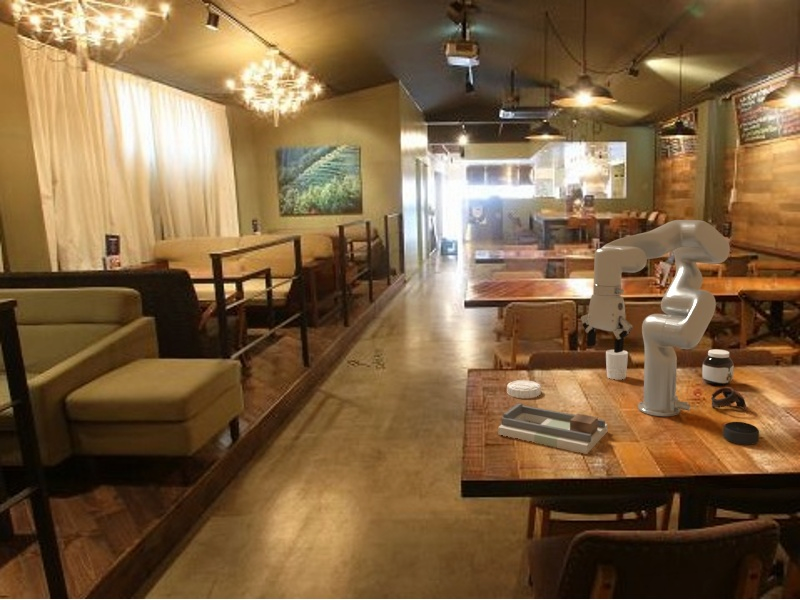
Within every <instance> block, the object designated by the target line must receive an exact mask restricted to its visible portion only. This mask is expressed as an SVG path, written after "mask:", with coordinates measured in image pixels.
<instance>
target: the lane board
mask: <svg viewBox="0 0 800 600" xmlns="http://www.w3.org/2000/svg"><path fill="white" fill-rule="evenodd" d="M575 415H576V414H573V413H568V412H567V413H566V412H561V411H555V410H552V409H551V410H550V409H544V408H539V407H534V406H529V405H523V403H517V404H515V405H513V407H511V408H509V410H507V411H505V412H504V413H503V415H502V416H503V417H501V424H500V425H499V426H498V427H497V429H498V430H497V432H498V436H501V435H503V436H502V437H506V436H508V437H507V438H510V437H513V438H512V439H515V438H518V439H517V440H519V439H522V440H521V441H524V440H527V441H526V442H529V441H532V442H531V443H533V442H536V443H535V444H538V443H540V444H539V445H542V444H544V445H543V446H547V445H548V447H552V446H553V447H552V448H556V447H557V449H562V450H565V451H566V450H567V451H571V452H575V453H579V452H580V454H585V455H588V453H589V452H591V450H592V449H593V448H594V447H595V446H596V445H597V444H598V443H599V442H600V441H601V439H602V438H604V436H605V435H606V434H607V433H608V423H606V420H605V419H602V418H598V430H597V431H596V432H595V433H594V434H593V435H592V436H591V434H587V433H582V432H577V431H572V430H570V420H571V419H572V418H573V417H574V416H575ZM529 421H530V422H529ZM596 443H597V444H596Z"/></svg>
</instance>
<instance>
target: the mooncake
mask: <svg viewBox="0 0 800 600" xmlns="http://www.w3.org/2000/svg"><path fill="white" fill-rule="evenodd" d="M506 392H507V395H508V396H509V395H510V396H509V397H512V398H516V399H534V398H537V396H538V397H540V396H541V394H542V386H541V384H540V383H538V382H536V381H533V380H525V379H520V380H514V381H511V382H509V383H508V384H507V385H506ZM539 395H540V396H539Z"/></svg>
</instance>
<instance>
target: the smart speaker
mask: <svg viewBox="0 0 800 600" xmlns="http://www.w3.org/2000/svg"><path fill="white" fill-rule="evenodd" d="M722 429H723V430H722V436H723V438H724V439H725V440H726V441H728V442H730V443H733V444H735V445H736V444H737V445H744V446H746V445H748V446H750V445H754V444H757V443H758V442H759V440H760V430H759V428H758V427H756V426H755V425H754V424H751V423H747V422H742V421H731V422H726V423H725V424H724V425H723V427H722Z"/></svg>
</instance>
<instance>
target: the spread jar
mask: <svg viewBox="0 0 800 600" xmlns="http://www.w3.org/2000/svg"><path fill="white" fill-rule="evenodd" d="M707 355H708V356H706V357H705V359H704V360H703V362H702V374H701V375H702V379H703V381H704V382H705V383H707V384H708V385H712V386H718V387H721V386H724V387H726V386H727V385H729V384H731V382H732V381H733V378H734V367H735V366H734V361H733V360H732V359H731V357H730V351H728V350H725V349H709V350H708V351H707Z"/></svg>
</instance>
